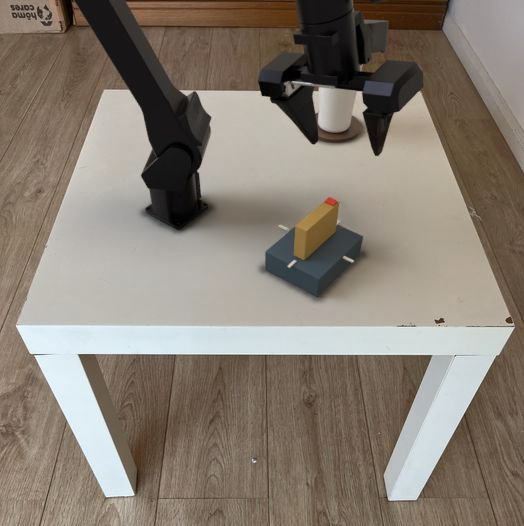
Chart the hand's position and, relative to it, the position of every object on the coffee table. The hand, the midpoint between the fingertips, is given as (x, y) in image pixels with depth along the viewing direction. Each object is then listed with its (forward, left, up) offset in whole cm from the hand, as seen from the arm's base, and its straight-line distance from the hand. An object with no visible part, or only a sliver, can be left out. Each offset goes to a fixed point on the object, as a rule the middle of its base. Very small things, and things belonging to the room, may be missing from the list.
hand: (345, 148), depth 71 cm
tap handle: (-8, -2, -8) cm, 12 cm away
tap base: (-8, -2, -11) cm, 14 cm away
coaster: (+21, +14, -11) cm, 27 cm away
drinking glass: (+20, +14, -11) cm, 27 cm away
